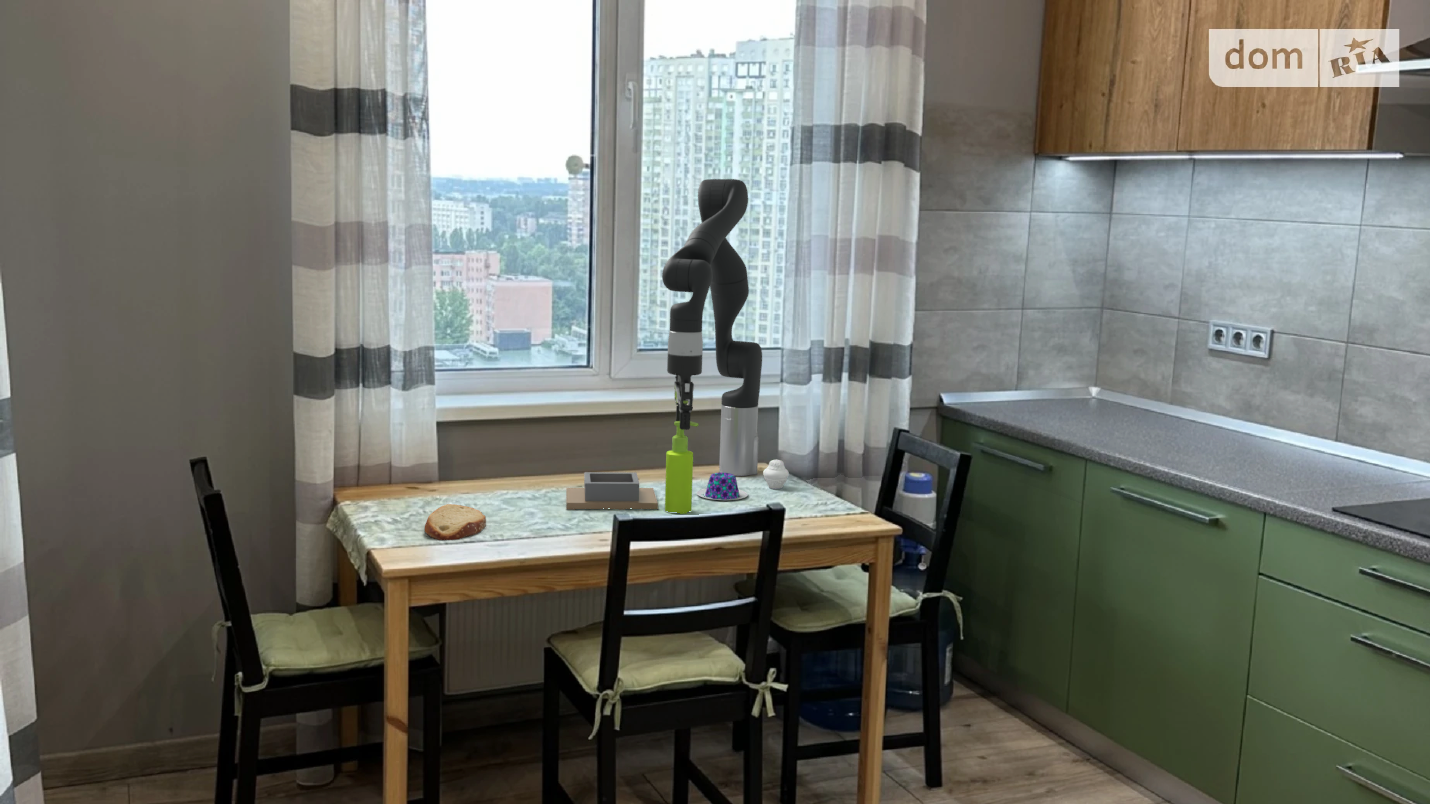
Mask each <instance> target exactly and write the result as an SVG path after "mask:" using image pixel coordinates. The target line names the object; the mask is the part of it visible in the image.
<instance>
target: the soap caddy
mask: <svg viewBox="0 0 1430 804" xmlns="http://www.w3.org/2000/svg"><path fill="white" fill-rule="evenodd" d="M583 475H584V477H583V479H584V480H583V481H584V482H583V483H584V484H583V487H566V488H565V492H566V493H565V498H566V500H565V501H566V502H565V503H566V504H565V505H566V506H565V507H566V509H565V510H575V509H603V508H604V509H608V508H610V509H619V510H625V509H630V508H632V509H658V508H659V507H658V505H659V502H658V500H657V499H658V498H657V496H656V492H655V489H654V487H640V480H639V476H638V473H637V472H636V471H635V472H626V471H625V472H621V471H620V472H618V471H617V472H616V471H615V472H612V471H611V472H608V471H607V472H605V471H604V472H602V471H598V472H595V471H594V472H593V471H592V472H590V471H589V472H588V471H585V472H583ZM658 510H659V509H658Z"/></svg>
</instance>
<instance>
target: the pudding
mask: <svg viewBox="0 0 1430 804" xmlns="http://www.w3.org/2000/svg"><path fill="white" fill-rule="evenodd" d="M737 481H738V480H737V477H736V476H734V475H733V474H730V473H721V472H715V473H711V475H710V476H709V479H708V482H707V485H706V486H707V487H706V488H702V489H699V490H697V491H696V495H697V496H699V497H701V498H703V499H708V500H713V501H714V500H715V501H719V500H720V501H730V500H731V501H736V500H741V499H745V498H747V497H748V495H749V494H748V492H746V491H745V490H742V489H739V485H738V482H737ZM704 493H705V494H704ZM701 494H704V496H705V497H704V496H702V495H701ZM711 498H712V499H711Z"/></svg>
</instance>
